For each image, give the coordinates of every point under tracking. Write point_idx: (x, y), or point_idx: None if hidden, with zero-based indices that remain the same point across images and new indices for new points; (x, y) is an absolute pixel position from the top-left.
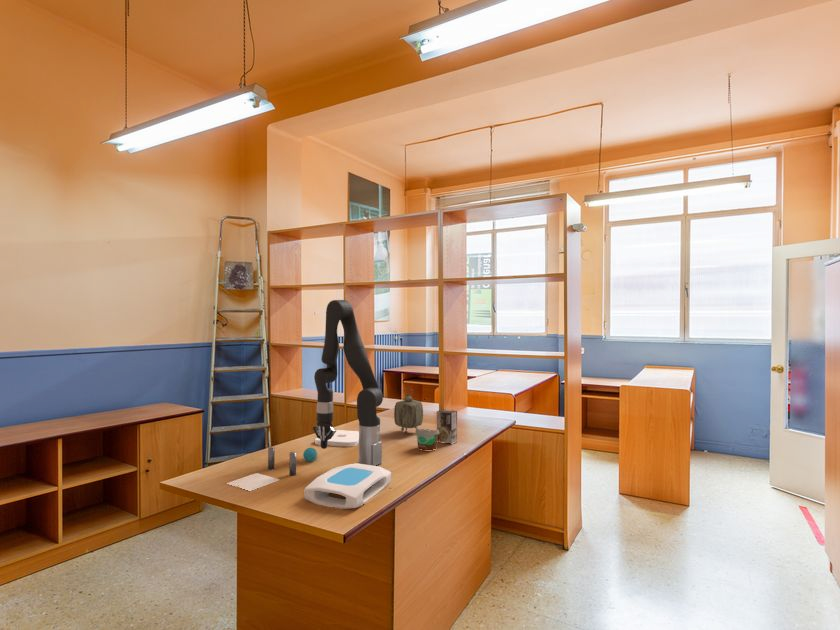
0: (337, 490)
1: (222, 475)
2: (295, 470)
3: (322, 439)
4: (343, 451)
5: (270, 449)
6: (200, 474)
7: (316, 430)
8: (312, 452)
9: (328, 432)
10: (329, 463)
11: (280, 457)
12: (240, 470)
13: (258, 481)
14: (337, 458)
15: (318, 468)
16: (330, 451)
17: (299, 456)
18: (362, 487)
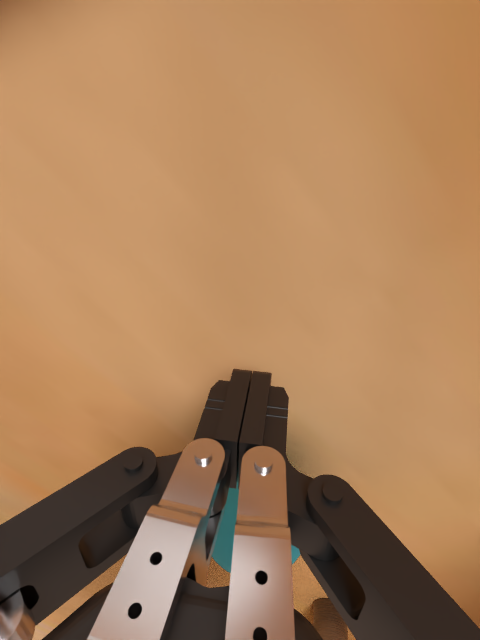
0: None
1: None
2: (347, 637)
3: (225, 497)
4: (369, 84)
5: None
6: (38, 623)
7: (40, 613)
8: (295, 560)
9: (315, 634)
10: (433, 459)
11: (42, 457)
12: (93, 594)
13: None
14: (438, 345)
15: (409, 537)
16: (213, 185)
17: (110, 411)
18: None
